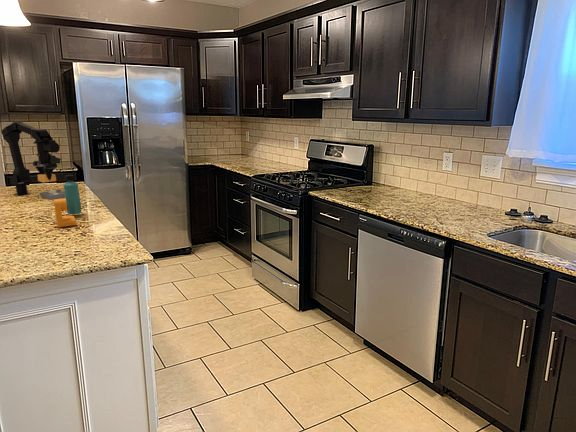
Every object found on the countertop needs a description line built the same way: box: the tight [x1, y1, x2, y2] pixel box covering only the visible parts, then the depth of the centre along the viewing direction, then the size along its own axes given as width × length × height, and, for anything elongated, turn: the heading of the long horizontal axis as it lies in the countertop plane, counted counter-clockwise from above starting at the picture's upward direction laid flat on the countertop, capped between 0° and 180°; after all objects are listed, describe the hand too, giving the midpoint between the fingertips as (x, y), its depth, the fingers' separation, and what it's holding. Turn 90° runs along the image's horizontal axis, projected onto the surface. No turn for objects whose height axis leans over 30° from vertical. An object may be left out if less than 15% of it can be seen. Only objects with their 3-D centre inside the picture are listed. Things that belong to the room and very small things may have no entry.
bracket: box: [53, 198, 77, 228], centre depth 189 cm, size 11×7×12 cm, turn 31°
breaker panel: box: [39, 188, 65, 201], centre depth 249 cm, size 14×12×3 cm
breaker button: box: [47, 189, 57, 194], centre depth 248 cm, size 3×3×4 cm
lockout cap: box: [37, 173, 57, 183], centre depth 244 cm, size 7×7×4 cm
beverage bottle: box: [63, 174, 82, 215], centre depth 204 cm, size 6×7×20 cm
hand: (47, 179), depth 244 cm, fingers closed on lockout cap, 7 cm apart
